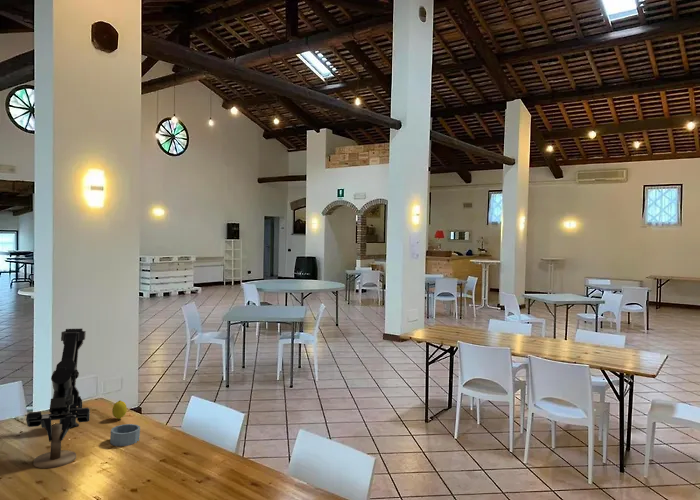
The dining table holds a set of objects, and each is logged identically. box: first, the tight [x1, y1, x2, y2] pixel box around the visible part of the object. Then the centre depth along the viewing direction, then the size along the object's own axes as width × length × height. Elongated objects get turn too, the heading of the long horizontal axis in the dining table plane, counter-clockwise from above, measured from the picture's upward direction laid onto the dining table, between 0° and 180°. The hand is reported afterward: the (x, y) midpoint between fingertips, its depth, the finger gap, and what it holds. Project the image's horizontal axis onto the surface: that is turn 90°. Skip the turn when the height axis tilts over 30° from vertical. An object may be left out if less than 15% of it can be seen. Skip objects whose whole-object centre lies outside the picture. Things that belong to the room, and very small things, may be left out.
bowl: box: [109, 423, 141, 447], centre depth 180 cm, size 10×10×4 cm
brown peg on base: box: [32, 422, 77, 469], centre depth 161 cm, size 12×12×12 cm
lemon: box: [111, 400, 128, 420], centre depth 202 cm, size 6×6×8 cm
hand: (55, 440), depth 160 cm, fingers closed on brown peg on base, 3 cm apart
